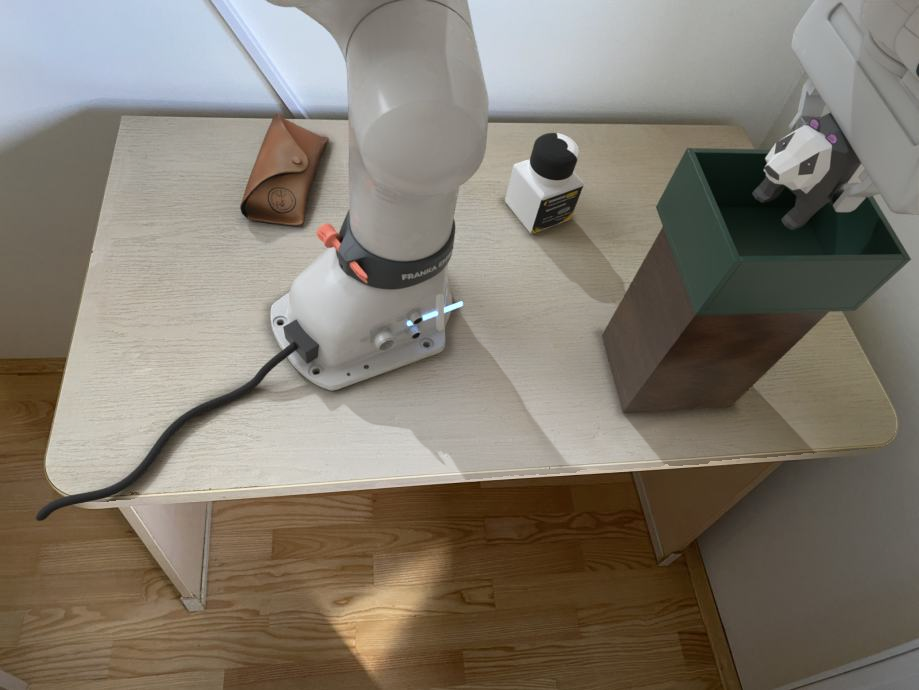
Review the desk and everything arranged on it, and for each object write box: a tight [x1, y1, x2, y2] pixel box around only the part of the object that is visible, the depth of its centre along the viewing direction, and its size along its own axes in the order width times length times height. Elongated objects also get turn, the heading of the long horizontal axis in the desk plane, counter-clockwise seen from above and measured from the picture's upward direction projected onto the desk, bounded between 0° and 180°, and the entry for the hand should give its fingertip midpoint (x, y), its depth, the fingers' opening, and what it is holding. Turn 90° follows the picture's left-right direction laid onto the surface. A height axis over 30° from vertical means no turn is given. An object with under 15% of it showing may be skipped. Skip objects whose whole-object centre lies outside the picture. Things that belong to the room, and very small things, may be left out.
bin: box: [655, 147, 912, 315], centre depth 61 cm, size 16×13×8 cm
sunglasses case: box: [239, 113, 330, 227], centre depth 91 cm, size 18×7×7 cm
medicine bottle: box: [504, 132, 585, 235], centre depth 90 cm, size 7×7×12 cm
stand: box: [601, 226, 829, 414], centre depth 73 cm, size 14×11×22 cm
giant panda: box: [752, 112, 865, 230], centre depth 53 cm, size 15×6×10 cm, turn 123°
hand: (818, 169), depth 55 cm, fingers closed on giant panda, 7 cm apart
